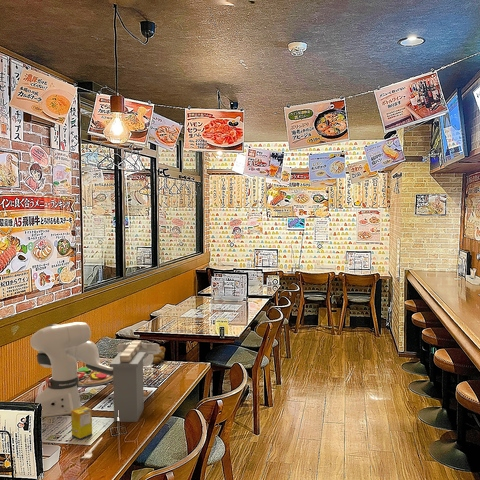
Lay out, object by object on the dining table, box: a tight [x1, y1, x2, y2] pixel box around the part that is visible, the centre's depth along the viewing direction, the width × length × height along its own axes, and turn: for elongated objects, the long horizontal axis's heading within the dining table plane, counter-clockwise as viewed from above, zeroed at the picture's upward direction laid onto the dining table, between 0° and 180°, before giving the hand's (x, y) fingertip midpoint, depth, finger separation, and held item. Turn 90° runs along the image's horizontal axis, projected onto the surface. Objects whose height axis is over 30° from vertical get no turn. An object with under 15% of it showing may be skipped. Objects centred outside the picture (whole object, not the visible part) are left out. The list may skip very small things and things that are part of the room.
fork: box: [80, 437, 103, 459], centre depth 196 cm, size 3×20×2 cm, turn 175°
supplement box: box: [70, 405, 93, 441], centre depth 207 cm, size 6×6×11 cm
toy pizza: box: [77, 366, 113, 388], centre depth 279 cm, size 28×28×4 cm
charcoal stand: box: [108, 352, 146, 423], centre depth 228 cm, size 18×12×26 cm, turn 179°
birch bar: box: [120, 339, 143, 362], centre depth 233 cm, size 26×4×3 cm, turn 179°
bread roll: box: [152, 346, 166, 364], centre depth 311 cm, size 13×10×8 cm
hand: (135, 344), depth 242 cm, fingers closed on birch bar, 4 cm apart
